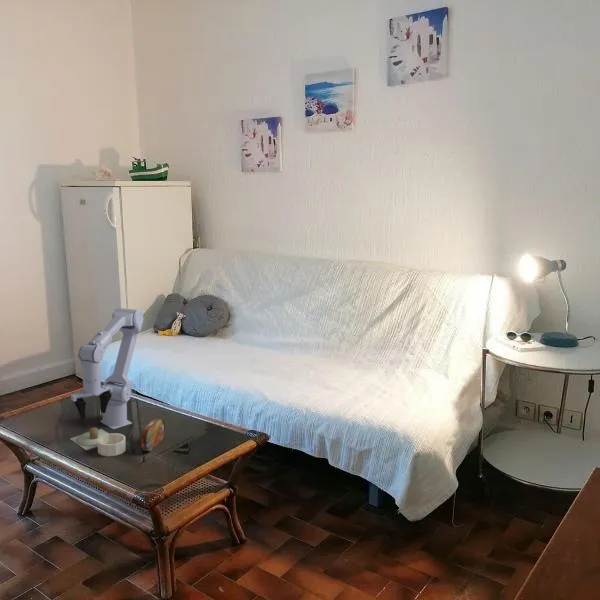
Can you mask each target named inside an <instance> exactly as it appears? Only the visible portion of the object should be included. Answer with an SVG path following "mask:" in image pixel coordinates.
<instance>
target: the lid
mask: <svg viewBox="0 0 600 600" xmlns="http://www.w3.org/2000/svg"><path fill="white" fill-rule="evenodd" d="M88 430H89V431H87V432H84V433H82V434H80V435H78V436H79V437H78V439H77V442H78V443H79V444H80V445H83V446H97V445H98V438H100V437H101V436H103V435H106V434H110V433H109V432H108V431H105V430H104V431H105V432H104V431H98V430H99V429H98V427H91V428H89V429H88Z"/></svg>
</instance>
